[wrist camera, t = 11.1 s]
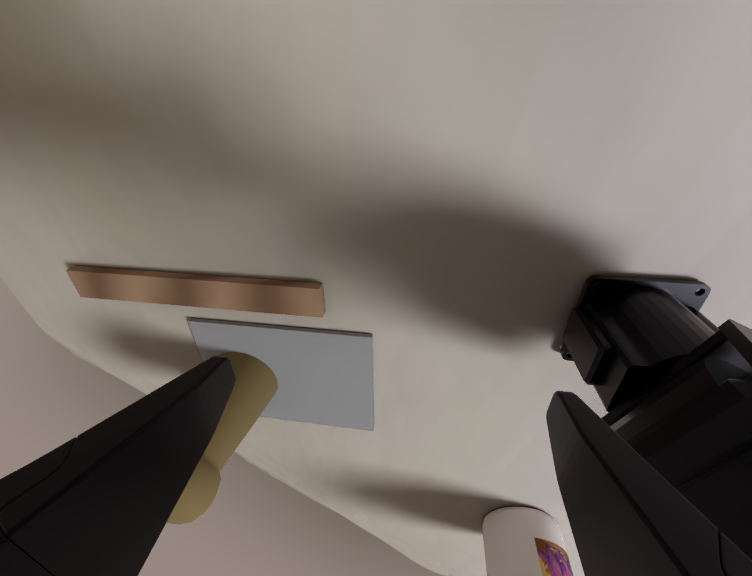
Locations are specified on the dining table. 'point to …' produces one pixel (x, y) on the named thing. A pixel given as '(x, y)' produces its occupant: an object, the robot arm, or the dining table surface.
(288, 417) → the mat
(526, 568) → the milk bottle
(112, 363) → the dining table surface
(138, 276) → the walnut line
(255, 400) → the cork
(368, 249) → the dining table surface
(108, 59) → the dining table surface
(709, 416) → the robot arm
